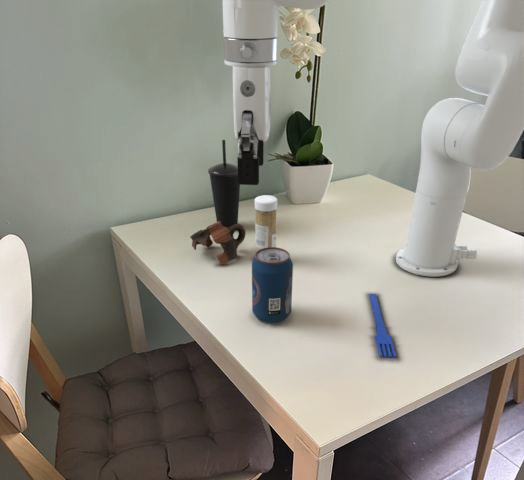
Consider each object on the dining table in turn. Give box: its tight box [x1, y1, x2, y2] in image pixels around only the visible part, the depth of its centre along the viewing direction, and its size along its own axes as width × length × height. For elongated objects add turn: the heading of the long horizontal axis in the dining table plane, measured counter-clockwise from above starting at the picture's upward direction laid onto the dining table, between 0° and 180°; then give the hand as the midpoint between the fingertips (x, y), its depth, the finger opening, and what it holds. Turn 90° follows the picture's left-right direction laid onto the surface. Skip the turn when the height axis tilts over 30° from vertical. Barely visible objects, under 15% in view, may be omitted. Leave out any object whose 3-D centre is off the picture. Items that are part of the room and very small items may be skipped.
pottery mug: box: [190, 221, 247, 266], centre depth 109 cm, size 12×10×8 cm
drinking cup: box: [207, 139, 241, 227], centre depth 116 cm, size 8×8×20 cm
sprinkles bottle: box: [254, 194, 278, 253], centre depth 104 cm, size 5×5×14 cm
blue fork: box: [368, 293, 397, 359], centre depth 88 cm, size 19×3×1 cm, turn 177°
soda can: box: [251, 246, 294, 325], centre depth 87 cm, size 7×7×12 cm
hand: (251, 174), depth 82 cm, fingers open, 9 cm apart
